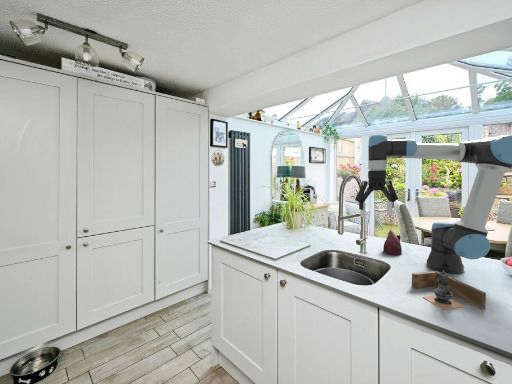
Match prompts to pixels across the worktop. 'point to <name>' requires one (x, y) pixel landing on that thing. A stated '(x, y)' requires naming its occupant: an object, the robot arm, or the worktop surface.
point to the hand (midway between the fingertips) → (376, 216)
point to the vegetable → (392, 245)
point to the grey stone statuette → (443, 289)
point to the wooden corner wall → (451, 287)
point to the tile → (443, 306)
